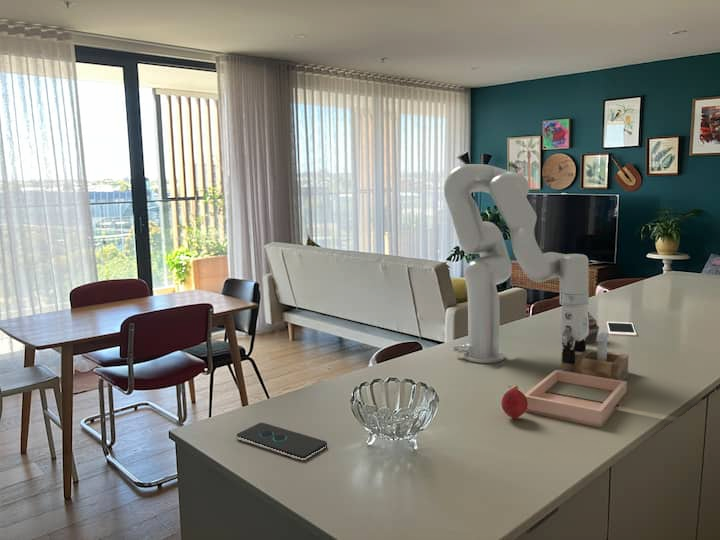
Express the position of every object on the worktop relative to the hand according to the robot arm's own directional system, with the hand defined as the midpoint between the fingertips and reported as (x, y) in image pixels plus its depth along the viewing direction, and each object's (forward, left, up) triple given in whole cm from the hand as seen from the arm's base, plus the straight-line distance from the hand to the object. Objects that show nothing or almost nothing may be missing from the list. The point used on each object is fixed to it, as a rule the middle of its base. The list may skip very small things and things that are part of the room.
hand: (574, 358), depth 166 cm
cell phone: (+33, +48, -5) cm, 58 cm away
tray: (-7, -22, -5) cm, 23 cm away
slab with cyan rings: (-77, -40, -5) cm, 87 cm away
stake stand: (+4, -3, -5) cm, 7 cm away
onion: (-24, -30, -5) cm, 39 cm away
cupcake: (+15, +35, -5) cm, 38 cm away
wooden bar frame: (+4, -3, -3) cm, 6 cm away
